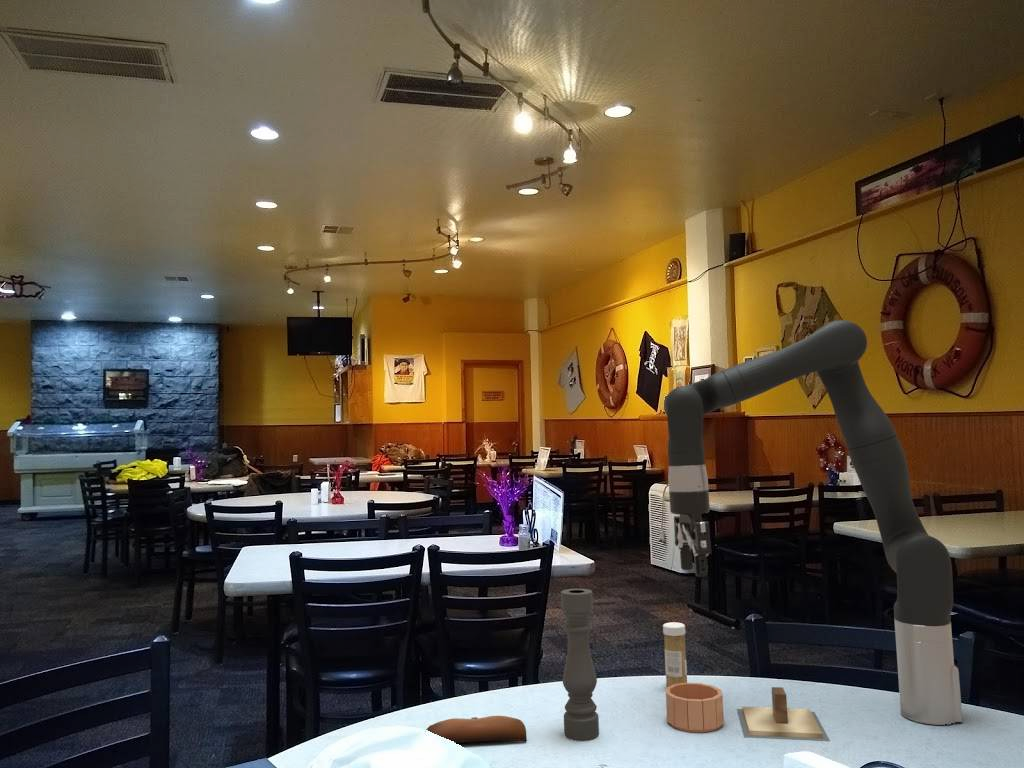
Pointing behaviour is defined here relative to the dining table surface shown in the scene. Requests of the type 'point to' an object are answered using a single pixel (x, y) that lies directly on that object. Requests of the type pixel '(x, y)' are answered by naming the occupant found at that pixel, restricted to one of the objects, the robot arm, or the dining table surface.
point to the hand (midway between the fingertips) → (694, 572)
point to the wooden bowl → (694, 707)
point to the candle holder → (579, 667)
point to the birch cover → (781, 719)
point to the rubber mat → (746, 735)
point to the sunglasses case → (480, 729)
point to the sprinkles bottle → (675, 653)
